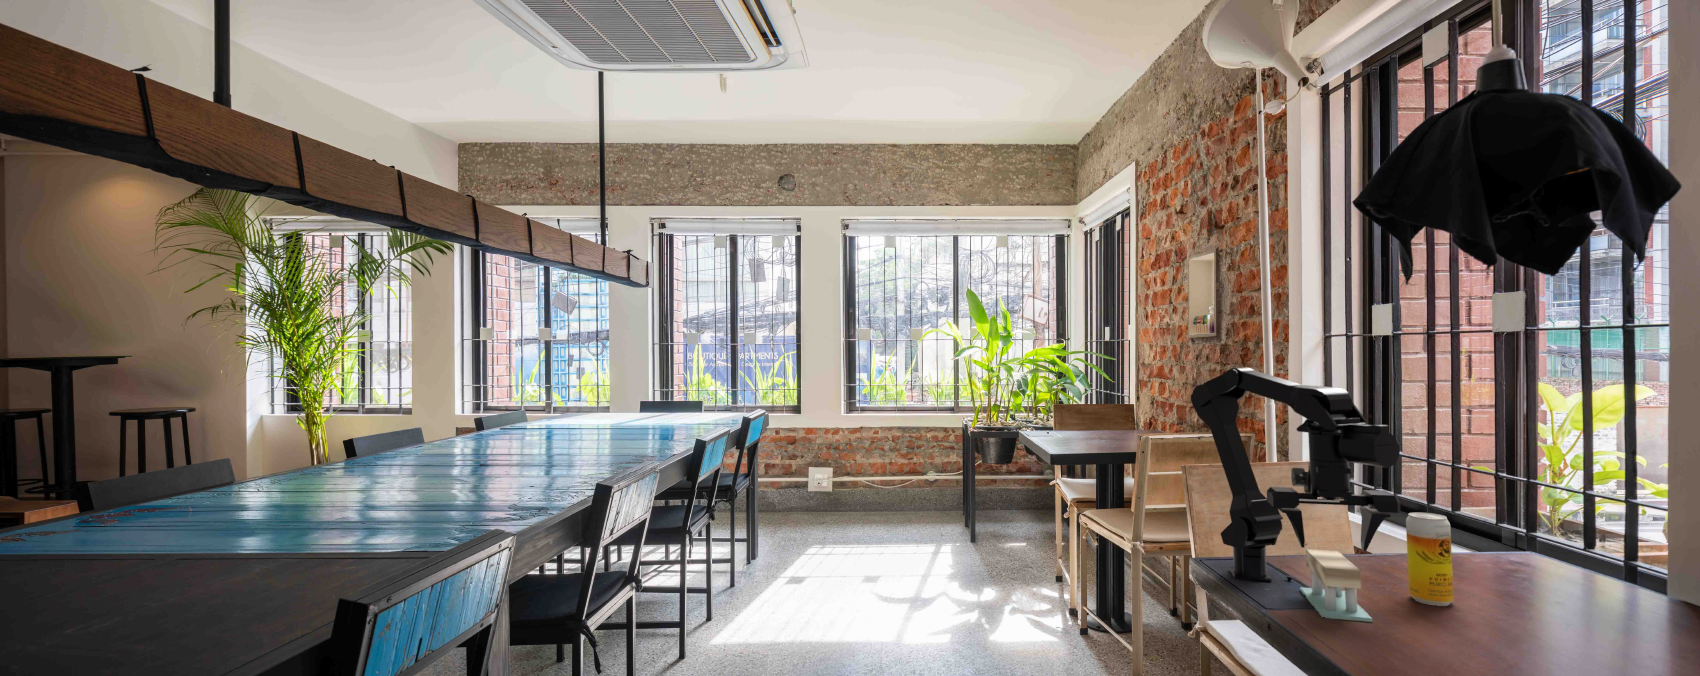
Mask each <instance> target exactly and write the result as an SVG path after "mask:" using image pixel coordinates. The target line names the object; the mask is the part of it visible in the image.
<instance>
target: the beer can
mask: <svg viewBox="0 0 1700 676" xmlns="http://www.w3.org/2000/svg"><path fill="white" fill-rule="evenodd" d="M1405 529H1406V551H1407V553H1406V554H1407V572H1408V573H1407V574H1408V579H1407V580H1408V594H1409V595H1410V596H1411V597H1412V600H1414V599H1415V601H1416V602H1419V603H1420V604H1425V605H1430V606H1435V605H1436V607H1446V606H1451V603H1453V601H1454V582H1453V581H1454V579H1453V578H1454V576H1453V559H1452V558H1453V557H1452V555H1453V554H1452V536H1451V535H1452V531H1451V529H1452V528H1451V524H1450V521H1449V520H1448V518H1447V516H1446V515H1443V514H1438V513H1432V512H1419V511H1418V512H1409V513H1408V515H1407V517H1406V518H1405Z"/></svg>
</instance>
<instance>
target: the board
mask: <svg viewBox="0 0 1700 676" xmlns="http://www.w3.org/2000/svg"><path fill="white" fill-rule="evenodd" d="M1305 559H1306V560H1305V561H1306V562H1305V565H1306V567H1307V568H1308V569H1309V570H1310V572H1311V571H1312V572H1313V573H1314V574H1315V575H1316V576H1317V577H1318V578H1319V579H1320V580H1321V581H1322V584H1323V585H1324V584H1325V585H1326V586H1333V587H1342V588H1345V587H1346V588H1357V589H1362V579H1361V578H1362V577H1361V575H1362V574H1361V573H1362V572H1361V570H1360V568H1359V567H1357V566H1356V565H1355V564H1353V563H1352V562H1351V561H1350V560H1349V559H1347V557H1345V556H1344V555H1343V554H1342V553H1341V552H1340V551H1339V550H1329V549H1325V550H1324V549H1310V548H1309V549H1308V548H1306V549H1305Z"/></svg>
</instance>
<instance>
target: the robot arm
mask: <svg viewBox="0 0 1700 676" xmlns="http://www.w3.org/2000/svg"><path fill="white" fill-rule="evenodd" d="M1248 392H1249V393H1251V394H1255V395H1259V396H1261V397H1264V398H1266V399H1267V398H1268V399H1270V400H1272V401H1275V402H1276V401H1277V402H1279V403H1281V404H1284V405H1286V406H1288V407H1290V408H1291V409H1292V410H1293V412H1294V413H1295V414H1298V415H1299V416H1301V417H1303V418H1305V420H1304V422H1303V423H1302V424H1301V423H1300V425H1298V426H1297V427H1296V431H1297V433H1299V432H1300V433H1307V435H1308V436H1307V437H1308V453H1309V454H1308V455H1309V462H1308V469H1307V471H1306V470H1305V469H1306V468H1304V467H1292V468H1291V469H1290V470H1291V473H1290V477H1291V484H1292V487H1303V491H1304V492H1298V491H1297V490H1295V489H1294V488H1292V487H1285V486H1284V487H1282V486H1270V487H1269V488H1268V489H1267V490H1266V496H1265V495H1264V494H1263V493H1262V492H1261V491H1260V488H1259V485H1258V482H1257V480H1256V476H1255V474H1254V471H1253V469H1252V465H1251V462H1250V459H1249V455H1248V453H1247V451H1246V448H1245V445H1244V442H1243V439H1242V437H1241V436H1242V435H1241V434H1240V433H1241V432H1240V431H1239V428H1238V424H1237V420H1238V419H1237V418H1238V415H1239V412H1240V407H1239V402H1238V401H1239V400H1241V399H1242V398H1244V397H1245V396H1246V395H1247V393H1248ZM1190 401H1191V405H1192V407H1193V408H1194V411H1195V412H1196V415H1197V417H1198V418H1199V419H1200V420H1201V421H1202V422H1203V423H1204V424H1205V425H1206V426H1207V427H1208V428H1209V429H1210V432H1211V434H1212V438H1213V442H1214V444H1215V447H1216V450H1217V452H1218V456H1219V459H1220V462H1221V465H1222V468H1223V471H1224V474H1225V477H1226V480H1227V482H1228V486H1229V490H1230V492H1231V495H1232V499H1231V502H1230V507H1229V511H1228V512H1229V516H1230V521H1231V522H1230V523H1229V524H1228V525H1227V526H1226V527H1225V528H1224V529H1223V530H1222V531H1221V532H1220V537H1221V540H1222V543H1223V545H1226V546H1230V547H1232V555H1233V557H1232V558H1233V560H1232V561H1233V566H1230V567H1229V571H1230V573H1231V575H1232V576H1233V578H1234V579H1236V580H1247V581H1248V580H1249V581H1250V580H1251V581H1263V582H1273V578H1272V576H1270V574H1269V572H1268V571H1267V570H1268V569H1267V547H1266V546H1275V545H1276V544H1277V541H1278V537H1279V535H1280V533H1281V531H1282V530H1283V523H1282V520H1284V517H1283V516H1282V515H1281V513H1283V514H1285V515H1286V517H1287V518H1288V520H1289V522H1290V524H1291V526H1292V529H1293V531H1294V534H1295V536H1296V538H1297V541H1298V543H1299V544H1298V545H1299V546H1300V547H1301V548H1305V547H1306V546H1305V544H1306V543H1305V538H1306V537H1305V530H1304V522H1303V513H1302V510H1301V509H1300V508H1298V506H1299V505H1300V504H1303V505H1304V504H1305V505H1306V504H1309V505H1329V506H1331V505H1333V506H1334V505H1335V506H1356V507H1357V506H1359V510H1360V516H1361V526H1360V527H1361V528H1360V546H1361V550H1362V551H1363V552H1367V550H1368V549H1369V546H1370V545H1371V542H1372V541H1373V537H1374V536H1375V534H1376V532H1377V530H1378V529H1379V527H1380V526H1381V524H1382V523H1383V521H1384V520H1385V519H1386V518H1389V519H1390V518H1392V513H1394V514H1396V513H1397V514H1399V513H1401V501H1400V499H1399V497H1398V496H1397V495H1395V494H1392V493H1390V492H1388V491H1387V490H1373V489H1362V491H1361V493H1360V494H1353V493H1352V491H1351V486H1350V485H1351V484H1350V482H1351V481H1350V475H1351V474H1352V473H1351V469H1352V468H1351V467H1350V465H1349V464H1350V463H1352V464H1360V465H1366V466H1373V467H1380V468H1381V467H1382V468H1390V467H1393V466H1394V465H1395V464H1396V463H1397V462H1398V459H1399V457H1400V451H1401V449H1400V444H1398V441H1397V439H1396V437H1395V436H1394V435H1393V434H1392V433H1391V432H1390V427H1389V425H1388V424H1369V422H1368V420H1367V419H1366V418H1365V417H1364V415H1363V414H1362V413H1361V411H1360V409H1359V408H1358V407H1357V406H1356V404H1354V402H1353V399H1352V397H1351V396H1350V392H1348V391H1347V390H1346V389H1344V388H1341V387H1333V386H1323V385H1307V384H1302V383H1299V382H1295V381H1291V380H1287V379H1285V378H1282V377H1278V376H1275V375H1272V374H1271V375H1270V374H1267V373H1265V372H1261V371H1259V370H1255V369H1253V368H1252V367H1245V366H1244V367H1231V368H1229V369H1228V370H1226V371H1225V372H1223V373H1221V374H1220V375H1218V376H1215V377H1213V378H1212V379H1209V380H1207V381H1206V382H1204V383H1203V384H1198V385H1196V386H1194V389H1193V391H1192V393H1191V394H1190Z"/></svg>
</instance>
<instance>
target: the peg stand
mask: <svg viewBox="0 0 1700 676" xmlns="http://www.w3.org/2000/svg"><path fill="white" fill-rule="evenodd" d="M1310 573H1311V575H1310V576H1311V587H1299V590H1301V591H1300V592H1301V594H1303V596H1304V595H1305V596H1306V597H1305V596H1304V597H1305V598H1306V599H1307V601H1308V602H1309V603H1310V604H1311V606H1312V607H1313V606H1314V609H1315V610H1316V612H1317V613H1318V612H1319V613H1318V614H1319V615H1320V616H1321V618H1323V617H1325V618H1324V619H1335V620H1336V619H1337V620H1347V621H1356V622H1357V621H1358V622H1368V623H1373V617H1371V616H1370V615H1369V613H1368V612H1366V610H1365V609H1364V608H1362V606H1360V605H1359V603H1358V594H1357V593H1358V592H1357V591H1358V590H1357V589H1358V588H1346V587H1344V590H1343V587H1333V586H1326V585H1325V584H1324V583H1323V582H1322V581H1321V580H1320V579H1319V578H1318V577H1317V576H1316V575H1315V574H1314V573H1313V572H1312V571H1311V570H1310ZM1323 585H1324V586H1323ZM1323 587H1324V588H1323Z"/></svg>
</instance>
